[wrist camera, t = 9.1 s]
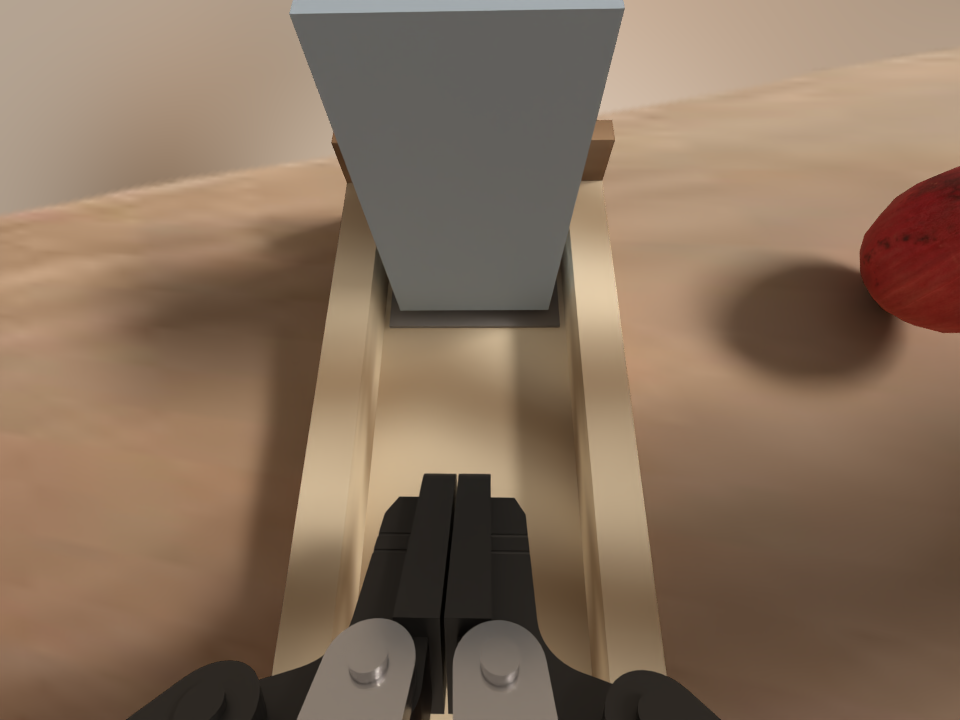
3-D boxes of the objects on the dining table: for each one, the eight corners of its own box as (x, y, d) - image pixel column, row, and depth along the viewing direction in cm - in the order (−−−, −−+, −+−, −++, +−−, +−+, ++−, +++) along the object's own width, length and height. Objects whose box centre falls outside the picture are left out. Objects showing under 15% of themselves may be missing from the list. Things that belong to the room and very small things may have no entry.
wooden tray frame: (641, 728, 14) (717, 819, 9) (303, 724, 14) (212, 811, 9) (585, 211, 21) (611, 120, 17) (367, 213, 22) (335, 123, 17)
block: (548, 310, 18) (624, 8, 8) (400, 310, 18) (289, 13, 8) (542, 211, 20) (597, -133, 10) (408, 212, 20) (326, -128, 10)
